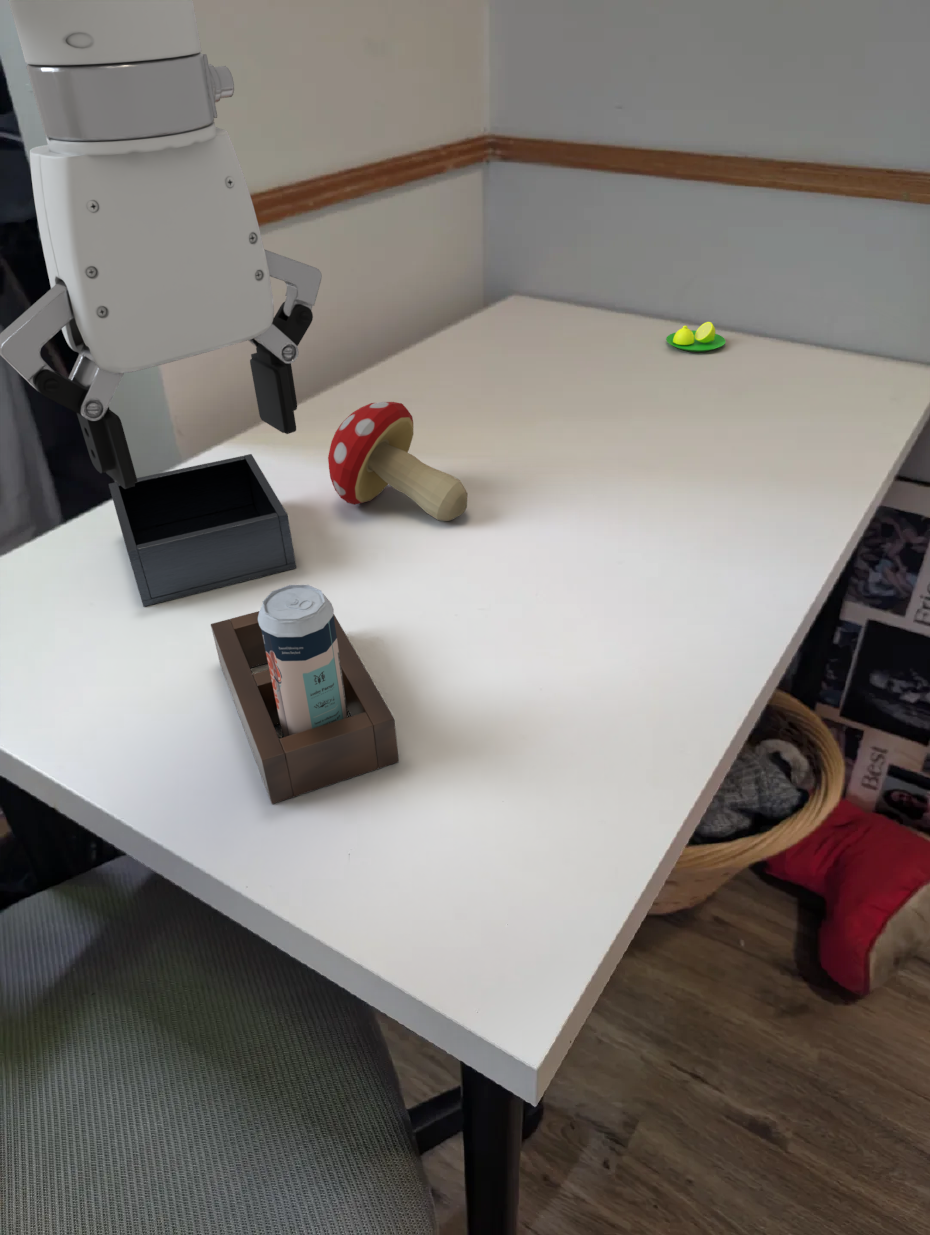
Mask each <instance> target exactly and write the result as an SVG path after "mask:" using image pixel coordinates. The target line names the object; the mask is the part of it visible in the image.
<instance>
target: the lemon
mask: <svg viewBox="0 0 930 1235" xmlns="http://www.w3.org/2000/svg"><path fill="white" fill-rule="evenodd" d="M665 340H666V341H665V342H667V343H668V345H671V346H672V347H674V348H676V349H678V350H681V351H685V352H690V353H691V352H692V353H704V352H705V353H706V352H709V351H713V350H715V349H718V348H721V347H723V346H724V345H725V344H726V339H725V337H724V336H722V335H721V334H718V333H716V328H715V325H714V324H713V322H711V321H706V322H704V323H702V324H701V325H700V326H699V327H698V328H697V329H696V330H693V329H692V330H691V329H690V328H689V327H688V325H683V326H682V327H681V328H679V329H678V330H677V331H676V332H671V333H670V334H669V335H667V336H666V338H665Z"/></svg>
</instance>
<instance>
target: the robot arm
mask: <svg viewBox="0 0 930 1235" xmlns="http://www.w3.org/2000/svg"><path fill="white" fill-rule="evenodd" d="M8 4H9V8H10V12H11V15H12V19H13V22H14V26H15V30H16V33H17V37H18V41H19V44H20V49H21V52H22V55H23V59H24V62H25V64H27V65H26V70H27V75H28V78H29V81H30V85H31V89H32V92H33V97H34V100H35V103H36V104H35V105H36V107H37V110H38V114H39V119H40V122H41V125H42V129H43V133H44V135H45V140H46V143H47V144H44V145H39V146H34V147H32V148H30V149H29V165H30V174H31V183H32V193H33V199H34V200H33V201H34V206H35V213H36V219H37V224H38V231H39V237H40V241H41V247H42V252H43V257H44V261H45V266H46V272H47V276H48V279H49V285H50V289H49V290H47V291H46V293H45V294H43V295H42V296H41V297H40V298H39V299H37V300H36V302H34V303H33V304H32V305H31V306H29V307H28V309H26V310H25V311H24V312H23V313H22V314H20V315H19V316H18V317H17V318H16V319H15V320H14V321H12V322H11V324H9V325H8V326H7V327H6V328H5V329H4V330H2V331H1V332H0V356H1V357H2V358H3V359H4V360H5V361H6V362H7V363H8V364H9V365H10V366H11V367H12V368H13V369H14V370H15V371H16V372H17V373H18V374H19V375H20V376H21V377H22V378H23V379H24V380H25V381H26V382H27V383H28V384H29V385H30V386H31V387H32V388H34V389H35V390H36V391H37V392H39V393H40V394H41V395H42V396H44V397H45V398H48V399H49V400H51V401H52V402H55V403H57V404H59V405H61V406H63V407H65V408H67V409H69V410H71V411H72V412H74V413H76V416H77V418H78V422H79V425H80V428H81V432H82V435H83V438H84V442H85V445H86V448H87V451H88V455H89V458H90V461H91V463H92V465H93V467H94V468H95V470H96V471H97V472H99V474H103V473H106V475H108V476H109V477H110V478H111V479H112V480H113V481H114V482H117V483H118V484H119V485H121V486H122V487H123V488H124V489H127V488H130V487H133V486H135V483H137V478H138V477H137V474H136V471H135V467H134V463H133V459H132V456H131V455H132V454H131V452H130V448H129V445H128V442H127V438H126V433H125V430H124V426H123V422H122V420H121V418H120V417H119V415H118V414H117V413H115V412H114V411H112V410H111V409H110V405H111V402H112V400H113V398H114V396H115V394H116V391H117V390H118V387H119V385H120V383H121V381H122V378H123V377H124V374H127V373H134V372H138V371H141V370H142V371H143V370H147V369H151V368H154V367H158V366H162V365H165V364H169V363H174V362H176V361H181V360H185V359H188V358H191V357H196V356H198V355H203V354H206V353H209V352H210V353H211V352H213V351H216V350H222V349H224V348H228V347H231V346H234V345H238V344H241V343H244V342H249V343H250V344H252V345H253V346H254V347H255V351H256V352H254V353H251V354H250V357H251V358H250V359H249V364H250V370H251V377H252V381H253V388H254V392H255V398H256V404H257V409H258V414H259V415H258V416H259V419H260V420H261V421H263V422H264V423H266V424H267V425H269V426H271V427H272V428H274V429H276V430H277V431H279V432H281V433H282V434H285V435H290V434H292V433H295V432H296V431H297V422H296V416H295V411H297V409H298V400H297V395H296V387H295V381H294V380H295V379H294V374H293V367H292V364H293V363H294V362H296V360H297V359H298V357H299V352H300V351H299V347H298V346H299V345H300V343H301V341H302V340H303V338H304V336H305V334H306V333H307V331H308V329H309V328H310V326H311V324H312V322H313V318H314V314H313V311H312V310H313V307H314V306H315V304H316V301H317V298H318V293H319V289H320V286H321V283H322V278H323V277H322V271H321V270H320V269H319V268H317V267H315V266H313V265H309V264H307V263H304V262H302V261H298V260H297V259H292V258H290V257H287V256H285V255H282V254H279V253H276V252H273V251H270V250H267V249H265V247H264V242H263V238H262V234H261V230H260V225H259V222H258V218H257V214H256V211H255V207H254V203H253V200H252V197H251V193H250V190H249V186H248V184H247V179H246V177H245V174H244V171H243V169H242V166H241V162H240V160H239V157H238V155H237V151H236V150H235V147H234V144H233V142H232V139H231V137H230V134H229V132H228V130H227V129H224V128H220V127H218V126H216V123H215V119H217V118H218V112H217V106H216V103H219V102H220V101H221V99H226V98H232V97H233V96H234V93H235V82H234V77H233V75H232V72H231V70H230V69H229V67H228V66H226V65H221V66H219V65H218V66H214V65H213V64H211V63H209V60H208V55H207V54H206V53H202V51H203V50H202V45H201V39H200V33H199V28H198V21H197V17H196V10H195V5H194V0H8ZM271 278H273V279H277V280H280V281H282V282H284V283H285V286H286V292H285V301H284V302H282V303H281V305H280V306H279V308H278V309H277V312H276V313H275V305H274V295H273V287H272V280H271ZM60 331H61V332H62V334H63V337H64V339H65V341H66V343H67V345H68V347H69V348H70V349H71V350H72V351H73V352H76V353H78V356H77V358H76V361H75V362H74V365H73V367H72V370H71V371H70V373H69V376H68V377H67V376H65V375H64V374H61V373H60V372H59V371H56V370H54V369H53V368H51V367H50V365H49V364H48V363H47V361H45V360H44V359H43V357H42V354H41V350H42V348H43V346H44V345H45V344H46V343H48V342H49V341H50V340H51V339H52V338H53V337H54V336H55V335H56V334H57V333H59V332H60Z"/></svg>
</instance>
